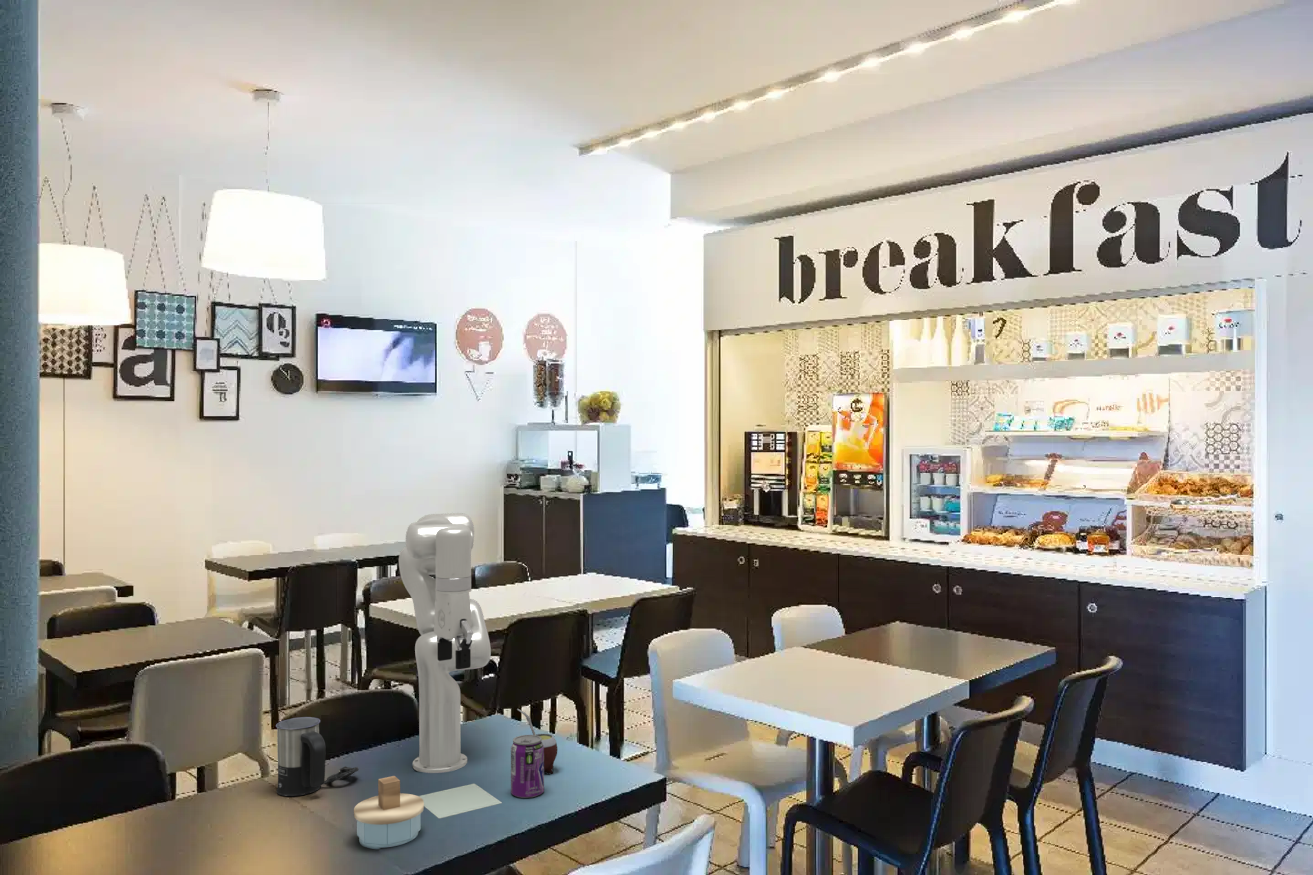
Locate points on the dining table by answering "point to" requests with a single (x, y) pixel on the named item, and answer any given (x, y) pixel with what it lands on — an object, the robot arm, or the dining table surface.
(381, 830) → the bowl
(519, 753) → the beverage can
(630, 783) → the dining table surface
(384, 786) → the lid
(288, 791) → the milk frother
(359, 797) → the dining table surface
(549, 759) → the mate gourd
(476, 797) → the mat
